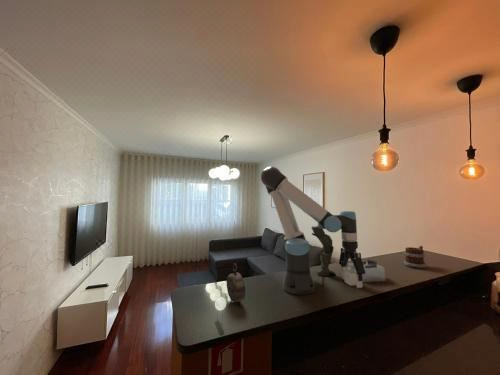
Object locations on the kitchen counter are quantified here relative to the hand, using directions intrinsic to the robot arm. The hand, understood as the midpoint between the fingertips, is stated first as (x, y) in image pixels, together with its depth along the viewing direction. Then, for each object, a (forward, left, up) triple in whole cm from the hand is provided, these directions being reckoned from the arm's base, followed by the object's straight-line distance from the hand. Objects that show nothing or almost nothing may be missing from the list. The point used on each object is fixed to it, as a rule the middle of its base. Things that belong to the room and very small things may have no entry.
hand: (351, 283), depth 107 cm
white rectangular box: (+13, +6, 0) cm, 14 cm away
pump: (0, 0, 0) cm, 0 cm away
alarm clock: (-62, -12, 0) cm, 63 cm away
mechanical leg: (-7, +16, 0) cm, 17 cm away
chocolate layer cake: (+60, +20, 0) cm, 63 cm away
